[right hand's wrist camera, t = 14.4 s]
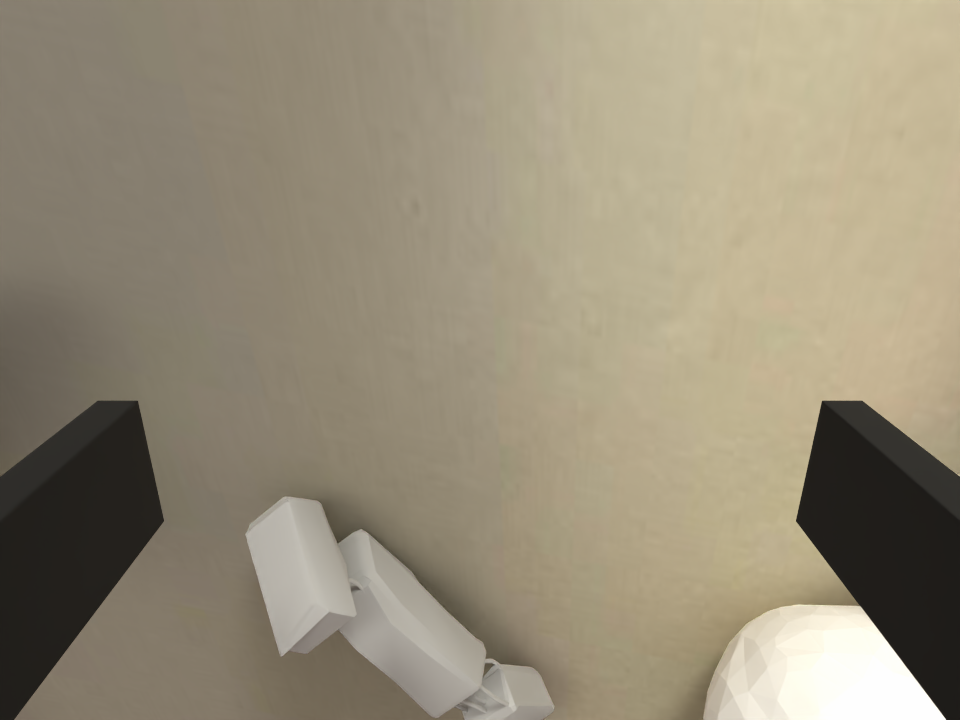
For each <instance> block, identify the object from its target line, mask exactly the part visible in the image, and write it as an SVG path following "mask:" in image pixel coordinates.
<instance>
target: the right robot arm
mask: <svg viewBox="0 0 960 720" xmlns="http://www.w3.org/2000/svg"><path fill="white" fill-rule="evenodd" d="M163 522H164V519H163V514H162V510H161V505H160V500H159V496H158V491H157V487H156V482H155V477H154V473H153V468H152V464H151V459H150V454H149V450H148V445H147V441H146V436H145V432H144V427H143V422H142V418H141V413H140V409H139V404H138V401H97V402H96V403H94V404H93V405H92V406H91V407H89V408H88V409H87V410H85V411H84V412H83V413H82V414H80V415H79V416H78V417H76V418H75V419H74V420H73V421H71V422H70V423H69V424H68V425H66V426H65V427H64V428H62V429H61V430H60V431H59V432H57V433H56V434H55V435H53V436H52V437H51V438H50V439H48V440H47V441H46V442H44V443H43V444H42V445H41V446H39V447H38V448H37V449H35V450H34V451H33V452H32V453H30V454H29V455H28V456H27V457H25V458H24V459H23V460H21V461H20V462H19V463H18V464H16V465H15V466H14V467H12V468H11V469H10V470H9V471H7V472H6V473H5V474H3V475H2V476H1V477H0V720H14V719H15V718H16V716H17V715H18V714H19V712H20V711H21V710H22V708H23V707H24V706H25V704H26V703H27V702H28V700H29V699H30V698H31V696H32V695H33V694H34V692H35V691H36V690H37V688H38V687H39V686H40V684H41V683H42V682H43V680H44V679H45V678H46V676H47V675H48V674H49V673H50V671H51V670H52V669H53V667H54V666H55V665H56V663H57V662H58V661H59V659H60V658H61V657H62V655H63V654H64V653H65V651H66V650H67V649H68V647H69V646H70V645H71V643H72V642H73V641H74V639H75V638H76V637H77V635H78V634H79V633H80V631H81V630H82V629H83V628H84V626H85V625H86V624H87V622H88V621H89V620H90V618H91V617H92V616H93V614H94V613H95V612H96V610H97V609H98V608H99V606H100V605H101V604H102V602H103V601H104V600H105V598H106V597H107V596H108V594H109V593H110V592H111V590H112V589H113V588H114V586H115V585H116V584H117V583H118V581H119V580H120V579H121V577H122V576H123V575H124V573H125V572H126V571H127V569H128V568H129V567H130V565H131V564H132V563H133V561H134V560H135V559H136V557H137V556H138V555H139V553H140V552H141V551H142V549H143V548H144V547H145V545H146V544H147V543H148V541H149V540H150V539H151V538H152V536H153V535H154V534H155V532H156V531H157V530H158V528H159V527H160V526H161V524H162V523H163ZM796 522H797V523H798V524H799V526H800V527H801V528H802V530H803V531H804V532H805V534H806V535H807V536H808V538H809V539H810V540H811V541H812V543H813V544H814V545H815V547H816V548H817V549H818V551H819V552H820V553H821V555H822V556H823V557H824V559H825V560H826V561H827V563H828V564H829V565H830V567H831V568H832V569H833V571H834V572H835V573H836V575H837V576H838V577H839V579H840V580H841V581H842V583H843V584H844V585H845V586H846V588H847V589H848V590H849V592H850V593H851V594H852V596H853V597H854V598H855V600H856V601H857V602H858V604H859V605H860V606H861V608H862V609H863V610H864V612H865V613H866V614H867V616H868V617H869V618H870V620H871V621H872V622H873V624H874V625H875V626H876V628H877V629H878V630H879V631H880V633H881V634H882V635H883V637H884V638H885V639H886V641H887V642H888V643H889V645H890V646H891V647H892V649H893V650H894V651H895V653H896V654H897V655H898V657H899V658H900V659H901V661H902V662H903V663H904V665H905V666H906V667H907V669H908V670H909V671H910V673H911V674H912V675H913V677H914V678H915V679H916V680H917V682H918V683H919V684H920V686H921V687H922V688H923V690H924V691H925V692H926V694H927V695H928V696H929V698H930V699H931V700H932V702H933V703H934V704H935V706H936V707H937V708H938V710H939V711H940V712H941V714H942V715H943V716H944V718H945V719H946V720H960V477H959V476H958V475H957V474H955V473H954V472H953V471H951V470H950V469H949V468H948V467H946V466H945V465H944V464H942V463H941V462H940V461H939V460H937V459H936V458H935V457H933V456H932V455H931V454H930V453H928V452H927V451H926V450H925V449H923V448H922V447H921V446H919V445H918V444H917V443H916V442H914V441H913V440H912V439H910V438H909V437H908V436H907V435H905V434H904V433H903V432H901V431H900V430H899V429H898V428H896V427H895V426H894V425H892V424H891V423H890V422H889V421H887V420H886V419H885V418H884V417H882V416H881V415H880V414H878V413H877V412H876V411H875V410H873V409H872V408H871V407H869V406H868V405H867V404H866V403H864V402H863V401H822V404H821V409H820V413H819V418H818V422H817V427H816V432H815V436H814V441H813V445H812V450H811V454H810V459H809V464H808V468H807V473H806V477H805V482H804V487H803V491H802V496H801V500H800V505H799V510H798V514H797V519H796Z"/></svg>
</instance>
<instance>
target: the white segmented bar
mask: <svg viewBox="0 0 960 720" xmlns="http://www.w3.org/2000/svg"><path fill="white" fill-rule="evenodd" d="M245 535H246V538H247V542H248V545H249V549H250V552H251V556H252V559H253V563H254V566H255V570H256V573H257V577H258V580H259V584H260V587H261V591H262V594H263V598H264V601H265V605H266V608H267V612H268V615H269V619H270V622H271V626H272V629H273V633H274V636H275V640H276V643H277V647H278V650H279V654H280V656H283V655H284V654H285V653H286V652H288V651H292V652H298V653H304V654H307V653H308V652H310V651H311V650H312V649H314V648H315V647H316V646H317V645H319V644H320V643H321V642H323V641H324V640H325V639H326V638H328V637H329V636H330V635H332V634H333V633H334V632H336V631H337V630H339V631H340V632H341V633H342V635H343V636H344V637H345V638H346V639H347V640H348V641H349V643H350V644H351V645H352V646H353V647H354V648H355V649H356V650H357V651H358V652H359V653H360V654H362V655H363V656H364V657H365V658H366V659H368V660H369V661H370V662H371V663H373V664H374V665H375V666H376V667H377V668H379V669H380V670H381V671H382V672H384V673H385V674H386V675H387V676H388V677H390V678H391V679H392V680H393V681H394V682H396V683H397V684H398V685H399V686H400V687H401V688H402V689H403V690H404V691H405V692H406V693H407V694H408V695H409V696H410V697H411V698H412V699H413V700H414V701H415V702H416V703H417V704H418V705H419V706H420V707H421V708H423V709H424V710H425V711H426V712H427V713H428V714H429V715H430V716H432V717H434V718H438V717H440V716H441V715H443V714H444V713H446V712H447V711H449V710H450V709H451V708H453V707H455V708H458V709H460V710H462V713H463V716H464V719H465V720H543V719H544V718H546V717H547V716H548V715H550V714H551V713H552V712H553V711H554V705H553V702H552V700H551V698H550V696H549V693H548V691H547V689H546V687H545V684H544V682H543V680H542V678H541V676H540V674H539V673H538V672H537V671H536V670H535V669H534V668H532V667H527V666H516V665H505V664H499V663H498V662H497V661H496V660H494V659H486V650H485V647H484V644H483V642H482V641H480V640H479V639H477V638H475V637H474V636H473V635H472V634H471V633H470V632H469V631H468V630H467V629H465V628H464V627H463V626H462V625H461V624H460V623H459V622H458V621H457V620H456V619H455V618H454V617H453V616H452V615H450V614H449V613H448V612H447V611H446V610H445V609H444V608H443V607H442V606H441V605H440V604H439V603H438V602H437V601H436V599H435V598H434V597H433V596H432V595H431V594H430V593H429V592H428V591H427V590H426V589H425V588H424V587H423V586H422V585H421V584H420V583H419V582H418V581H417V579H416V577H415V576H414V574H413V573H412V572H411V571H410V570H409V569H408V568H407V567H406V566H405V565H404V564H402V563H401V562H400V561H399V560H398V559H397V558H396V557H395V556H393V555H392V554H391V553H390V552H389V551H388V550H387V549H385V548H384V547H383V546H382V545H381V544H380V543H379V542H378V541H376V540H375V539H374V538H373V537H372V536H371V535H370V534H369V533H367V532H366V531H364V530H362V529H360V530H357V531H354V532H353V533H352V534H350V535H349V536H348V537H346V538H345V539H343V540H342V541H341V542H339V543H338V544H337V541H336V539H335V537H334V534H333V532H332V529H331V527H330V525H329V522H328V520H327V518H326V515H325V512H324V509H323V507H322V504H321V503H320V502H319V501H317V500H311V499H303V498H296V497H287V496H284V497H283V498H281V499H280V500H279V501H278V502H277V503H275V504H274V505H273V506H272V507H270V508H269V509H268V510H267V511H265V512H264V513H263V514H262V515H260V516H259V517H258V518H257V519H255V520H254V521H253V522H252V523H250V526H249V529H248V531H247V532H246V534H245ZM485 663H492V664H494V665H493V666H492V667H491V668H490V670H489V671H488V672H487V673H486V674H485V676H484V677H483V672H484V665H485ZM459 703H460V704H459Z"/></svg>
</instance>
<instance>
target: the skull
mask: <svg viewBox="0 0 960 720" xmlns="http://www.w3.org/2000/svg"><path fill="white" fill-rule="evenodd" d="M703 720H946V719H945V718H944V716H943V715H942V714H941V712H940V711H939V710H938V708H937V707H936V706H935V704H934V703H933V702H932V700H931V699H930V698H929V696H928V695H927V694H926V692H925V691H924V690H923V688H922V687H921V686H920V684H919V683H918V682H917V680H916V679H915V678H914V677H913V675H912V674H911V673H910V671H909V670H908V669H907V667H906V666H905V665H904V663H903V662H902V661H901V659H900V658H899V657H898V655H897V654H896V653H895V651H894V650H893V649H892V647H891V646H890V645H889V643H888V642H887V641H886V639H885V638H884V637H883V635H882V634H881V633H880V631H879V630H878V629H877V628H876V626H875V625H874V624H873V622H872V621H871V620H870V618H869V617H868V616H867V614H866V613H865V612H864V610H863V609H862V608H861V606H838V605H792V606H785V607H780V608H777V609H773V610H770V611H767V612H765V613H764V614H762V615H760V616H759V617H757V618H755V619H753V620H752V621H750V622H748V623H746V625H745V626H744V627H743V628H742V629H741V630H740V631H739V632H738V633H737V634H736V635H735V636H734V638H733V639H732V640H731V641H730V642H729V644H728V645H727V647H726V649H725V651H724V653H723V655H722V657H721V659H720V661H719V663H718V665H717V667H716V670H715V672H714V675H713V677H712V680H711V683H710V685H709V688H708V692H707V698H706V704H705V710H704V716H703Z"/></svg>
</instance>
